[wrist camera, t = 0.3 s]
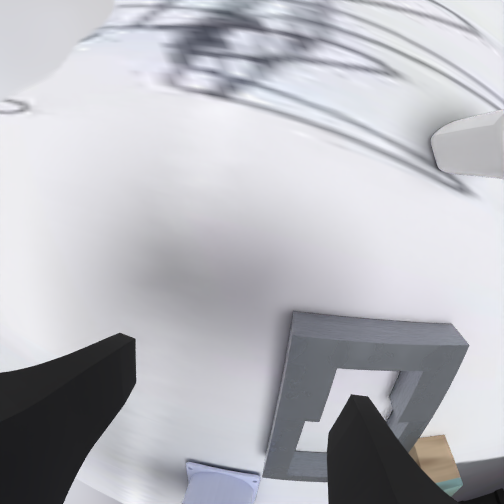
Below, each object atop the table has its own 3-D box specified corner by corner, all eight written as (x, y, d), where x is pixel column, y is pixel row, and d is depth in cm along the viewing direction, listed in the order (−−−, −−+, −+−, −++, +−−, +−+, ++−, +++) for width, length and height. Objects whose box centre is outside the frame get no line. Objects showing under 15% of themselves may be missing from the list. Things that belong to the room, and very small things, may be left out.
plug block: (427, 457, 21) (441, 505, 15) (396, 460, 22) (407, 512, 15) (444, 434, 20) (462, 484, 14) (412, 438, 21) (427, 493, 14)
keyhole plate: (383, 457, 22) (387, 479, 19) (266, 453, 23) (262, 477, 20) (452, 324, 17) (469, 345, 14) (293, 311, 19) (292, 335, 16)
